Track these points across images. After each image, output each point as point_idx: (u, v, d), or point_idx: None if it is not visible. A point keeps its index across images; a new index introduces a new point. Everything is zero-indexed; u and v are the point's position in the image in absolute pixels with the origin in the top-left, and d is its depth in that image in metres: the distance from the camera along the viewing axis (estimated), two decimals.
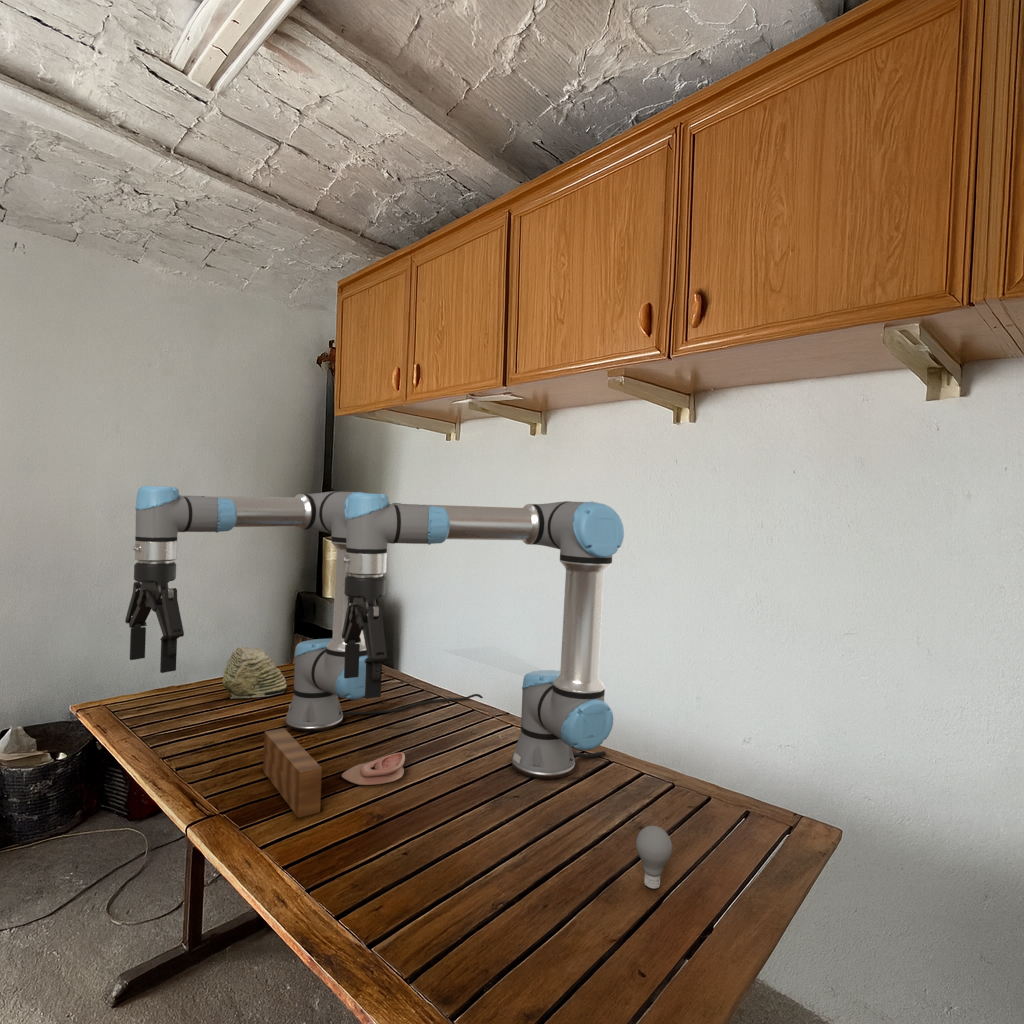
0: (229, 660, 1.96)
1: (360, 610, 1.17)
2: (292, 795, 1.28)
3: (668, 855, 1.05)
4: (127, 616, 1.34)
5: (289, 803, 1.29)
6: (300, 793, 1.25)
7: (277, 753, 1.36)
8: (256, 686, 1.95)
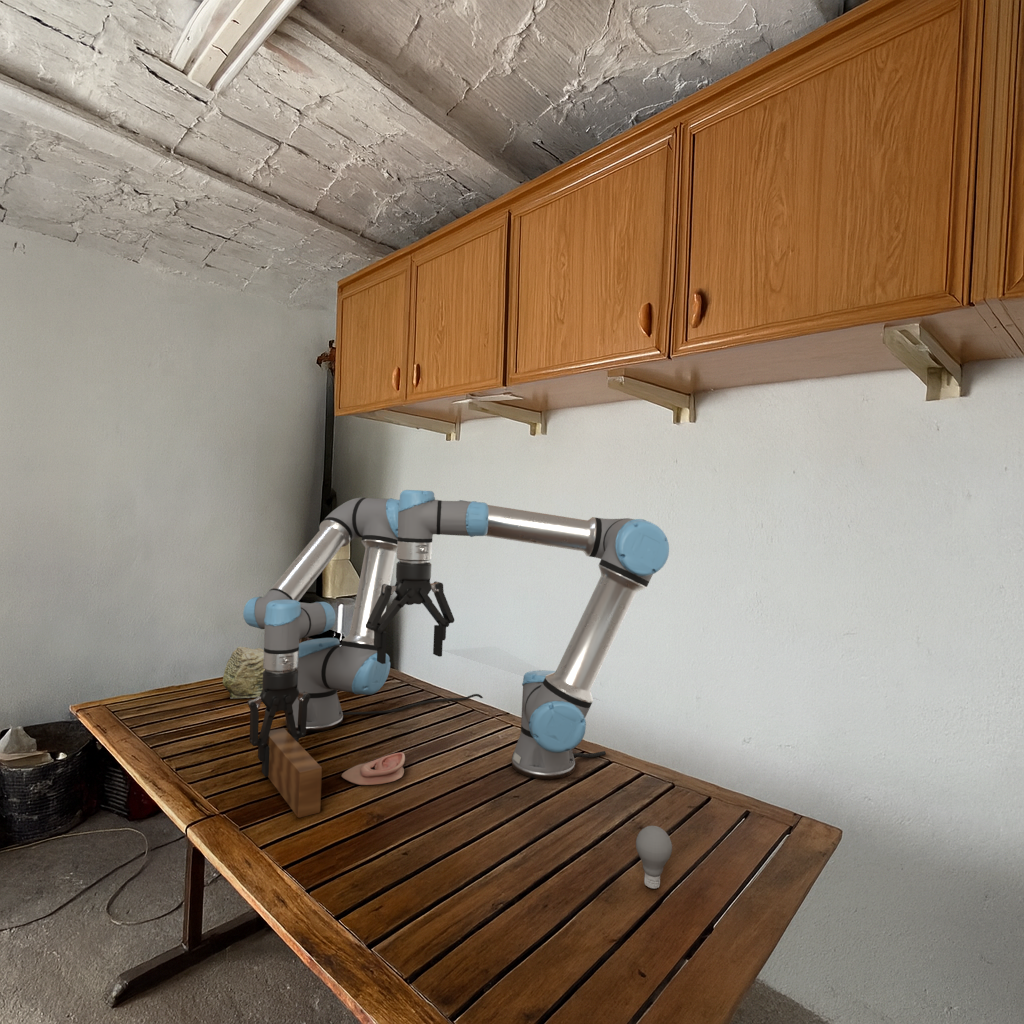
0: (229, 660, 1.96)
1: None
2: (292, 795, 1.28)
3: (668, 855, 1.05)
4: (254, 738, 1.39)
5: (289, 803, 1.29)
6: (300, 793, 1.25)
7: (277, 753, 1.36)
8: (256, 686, 1.95)
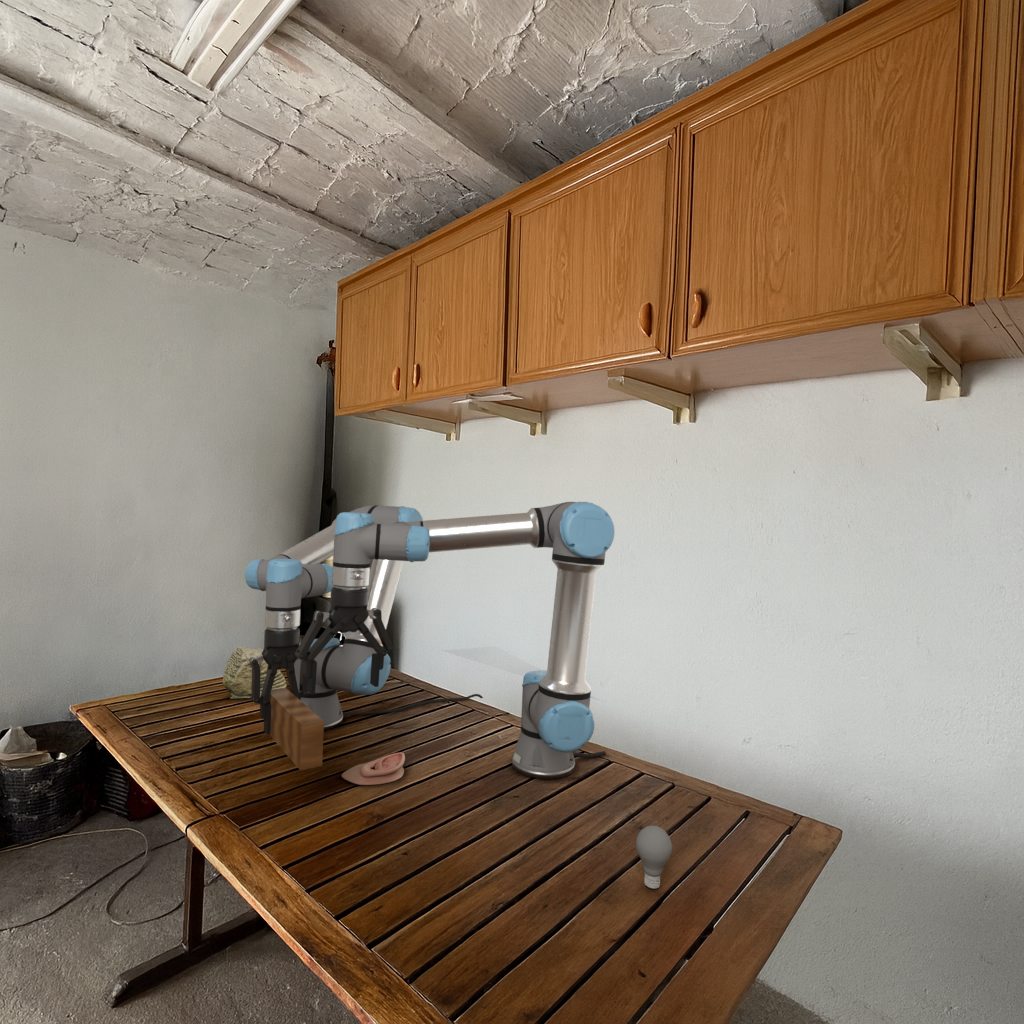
0: (229, 660, 1.96)
1: None
2: (294, 749, 1.28)
3: (668, 855, 1.05)
4: (256, 696, 1.39)
5: (291, 757, 1.29)
6: (302, 746, 1.25)
7: (279, 710, 1.36)
8: None
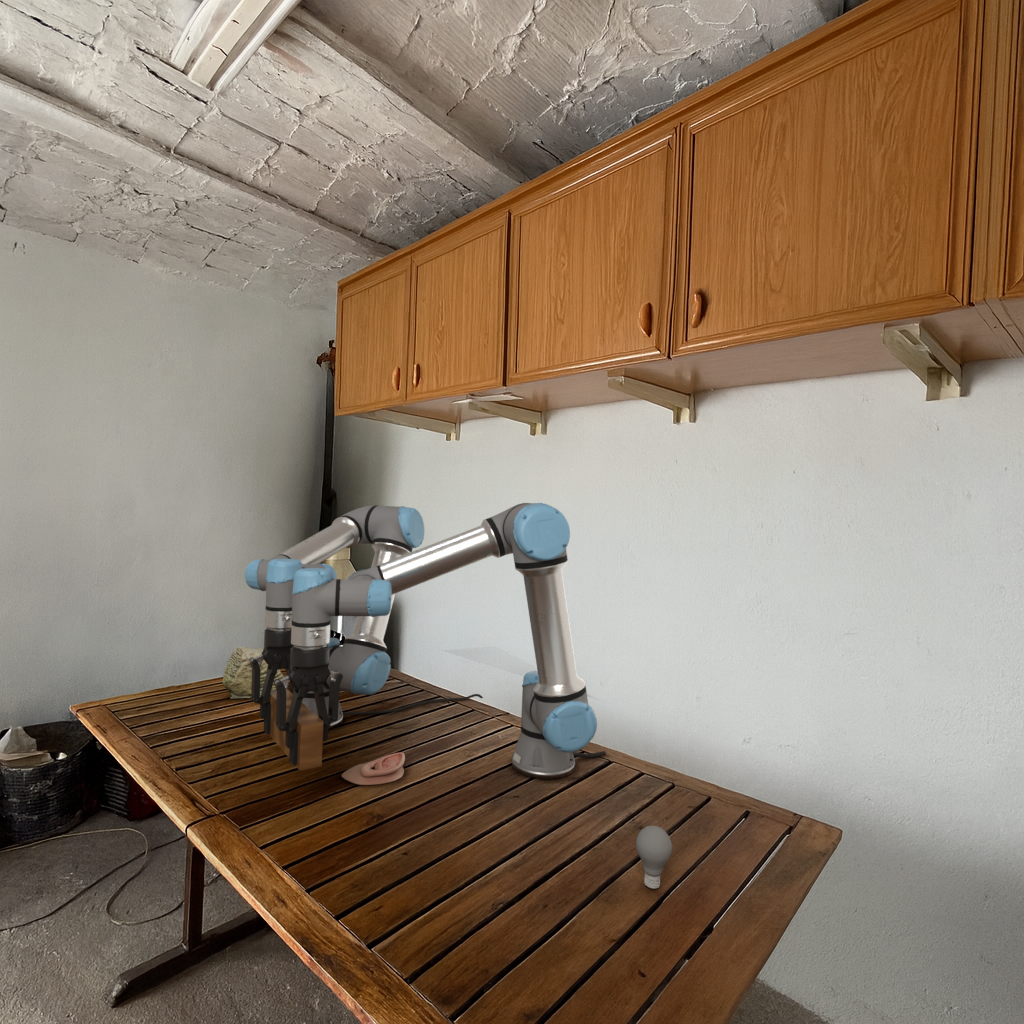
0: (229, 660, 1.96)
1: None
2: None
3: (668, 855, 1.05)
4: (256, 696, 1.39)
5: None
6: (302, 746, 1.24)
7: None
8: None
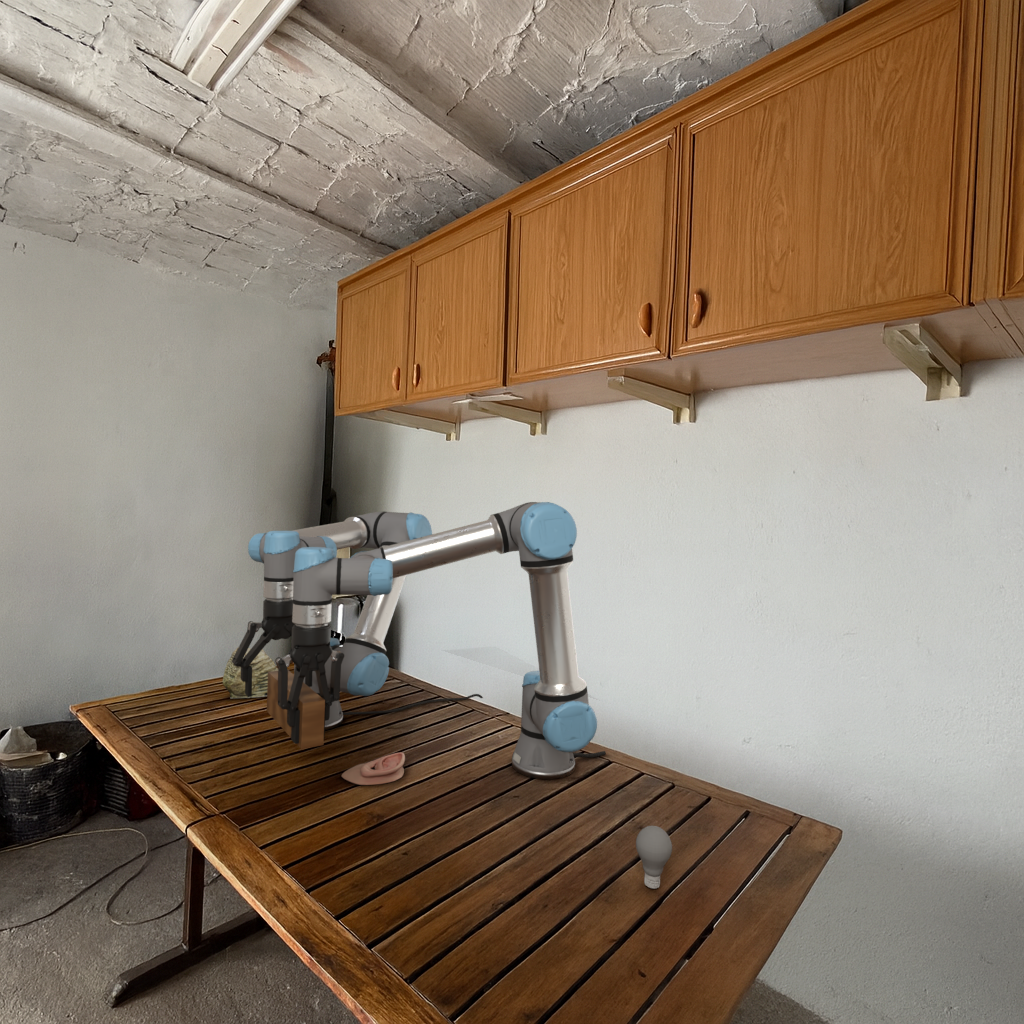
0: (229, 660, 1.96)
1: None
2: None
3: (668, 855, 1.05)
4: (239, 659, 1.39)
5: None
6: (303, 724, 1.24)
7: None
8: (256, 686, 1.95)
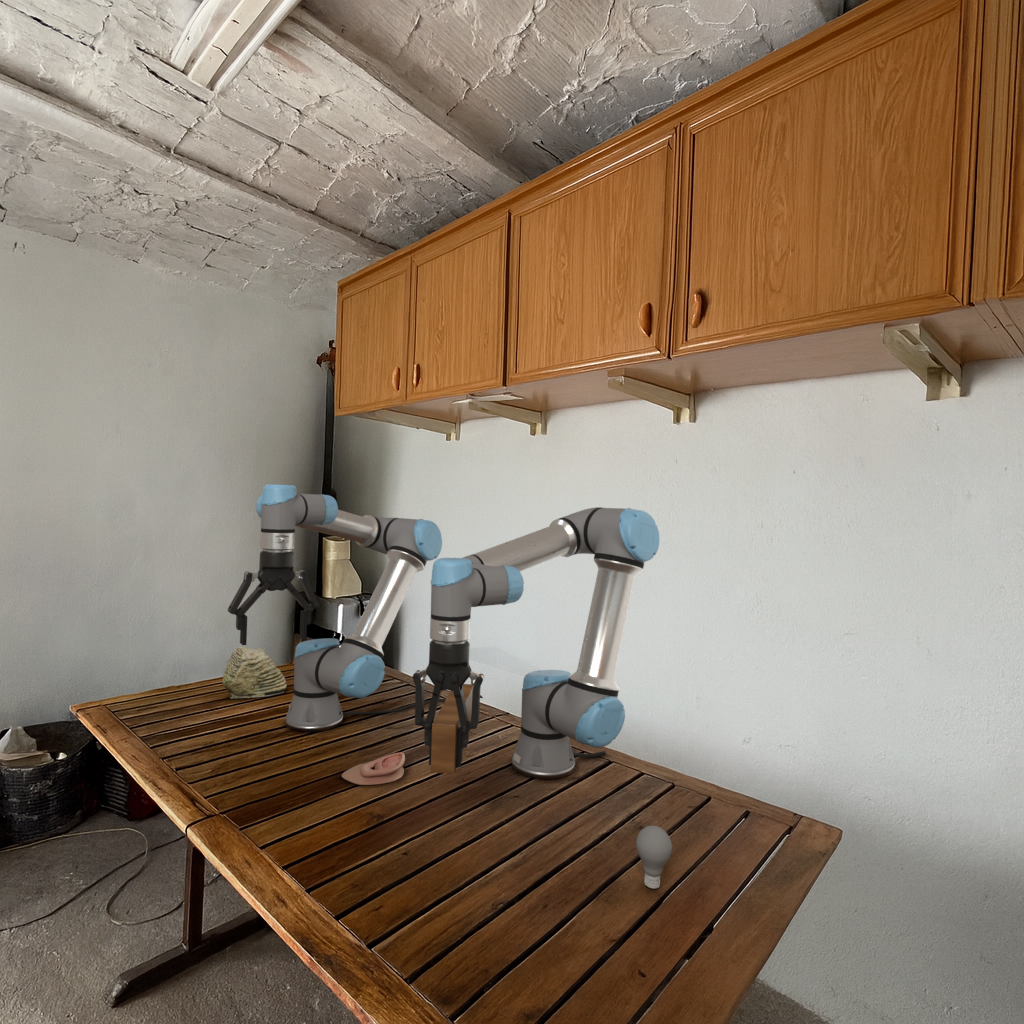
0: (229, 660, 1.96)
1: (457, 677, 1.18)
2: None
3: (668, 855, 1.05)
4: (234, 607, 1.41)
5: None
6: (432, 746, 1.17)
7: None
8: (256, 686, 1.95)
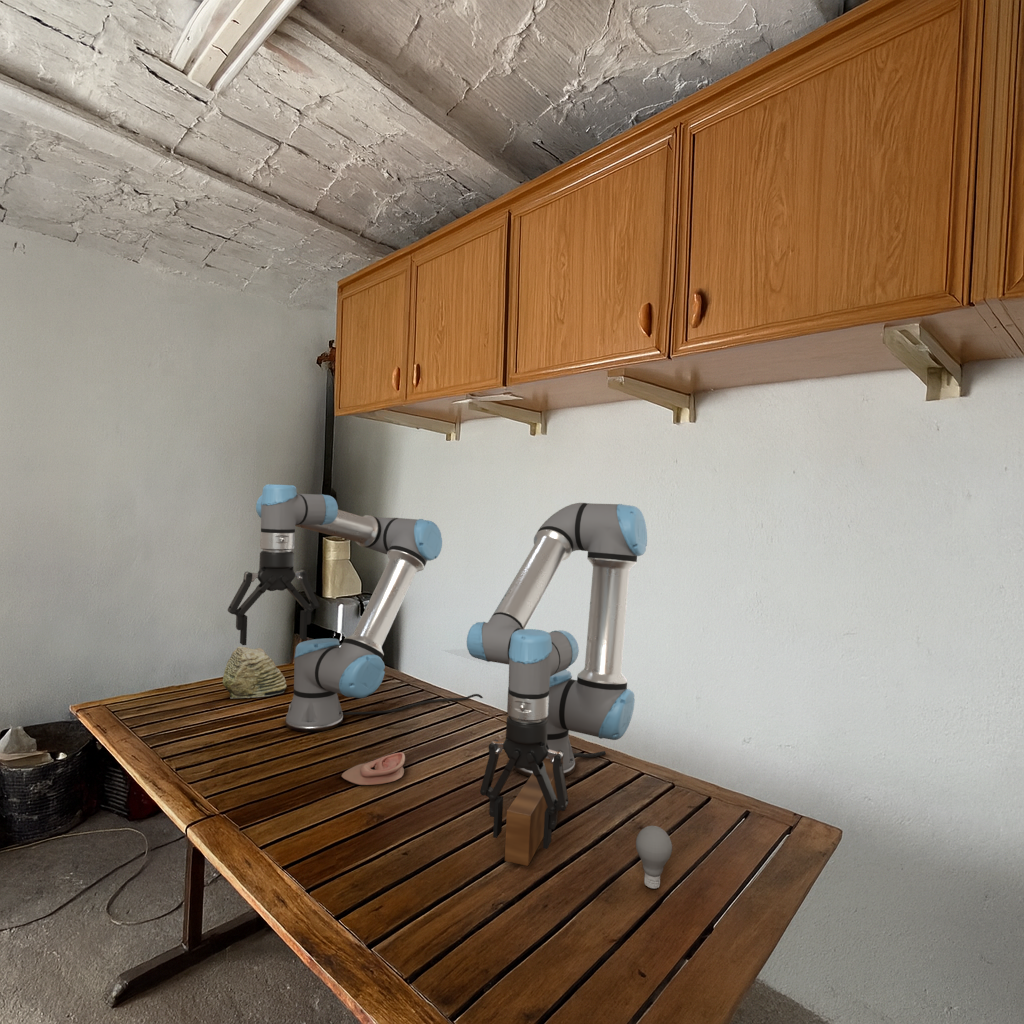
0: (229, 660, 1.96)
1: (534, 756, 1.13)
2: None
3: (668, 855, 1.05)
4: (234, 607, 1.41)
5: None
6: (507, 834, 1.13)
7: None
8: (256, 686, 1.95)
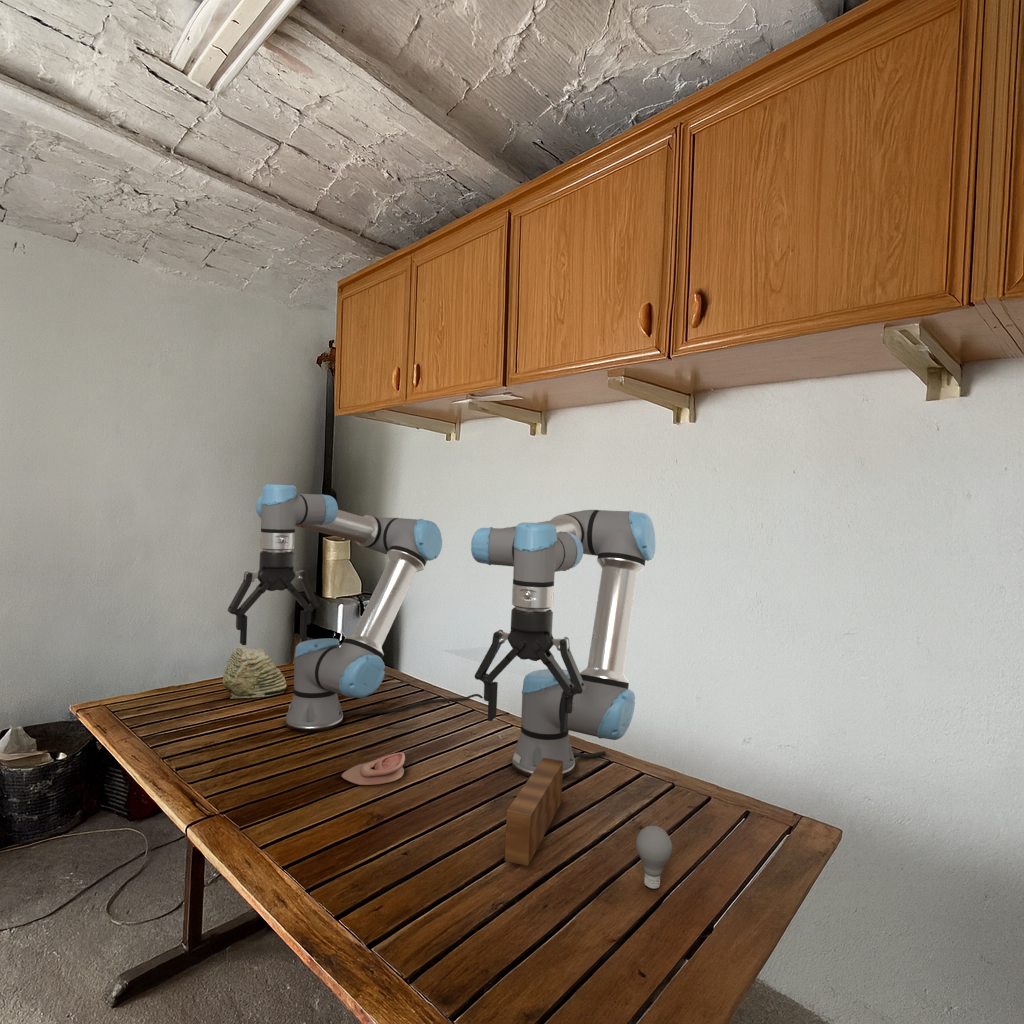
0: (229, 660, 1.96)
1: (539, 645, 1.13)
2: None
3: (668, 855, 1.05)
4: (234, 607, 1.41)
5: None
6: (507, 834, 1.13)
7: None
8: (256, 686, 1.95)
